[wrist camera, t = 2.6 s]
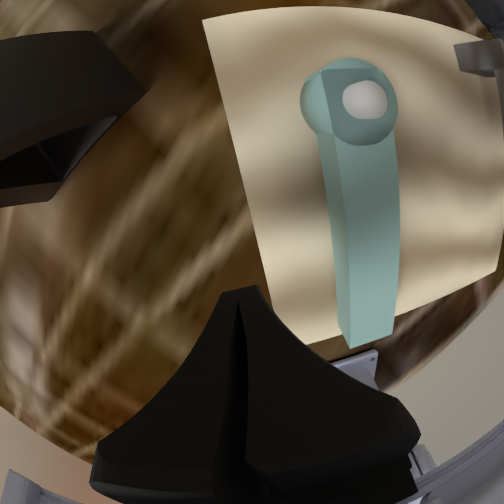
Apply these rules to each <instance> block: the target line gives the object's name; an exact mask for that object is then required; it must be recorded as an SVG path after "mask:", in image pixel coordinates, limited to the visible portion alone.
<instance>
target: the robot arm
mask: <svg viewBox="0 0 504 504" xmlns="http://www.w3.org/2000/svg"><path fill="white" fill-rule="evenodd" d="M377 358H378V352H377V350H375V349H373V350H370V351H367V352H364V353H361V354H358V355H355V356H352V357H349V358H346V359H343V360H340V361H337V362H333V363H329V362H327V361H326V360H324V359H323V358H322V357H320V356H319V355H318V354H317V353H315V352H314V351H313V350H311V349H310V348H309V347H308V346H307V345H305V344H304V343H303V342H302V341H301V340H300V339H299V338H298V337H297V336H296V335H294V334H293V333H292V332H291V330H290V329H289V328H288V327H287V326H286V325H285V324H284V323H283V322H282V321H281V320H280V318H279V317H278V316H277V315H276V314H275V312H274V311H273V310H272V308H271V307H270V306H269V304H268V303H267V301H266V300H265V298H264V296H263V294H262V292H261V290H260V287H259V286H257V285H253V286H248V287H244V288H240V289H236V290H231V291H227V292H223V293H222V294H221V295H220V297H219V299H218V301H217V304H216V306H215V308H214V310H213V312H212V314H211V316H210V318H209V320H208V322H207V324H206V326H205V328H204V330H203V332H202V333H201V335H200V337H199V339H198V340H197V342H196V343H195V345H194V347H193V348H192V350H191V352H190V353H189V355H188V356H187V358H186V359H185V361H184V362H183V363H182V365H181V366H180V368H179V369H178V370H177V372H176V373H175V374H174V375H173V377H172V378H171V379H170V380H169V381H168V382H167V383H166V385H165V386H164V387H163V388H162V389H161V390H160V391H159V392H158V393H157V394H156V395H155V397H154V398H153V399H152V400H151V401H150V402H149V403H147V404H146V405H145V406H144V407H143V408H142V409H141V410H140V411H139V412H138V413H136V414H135V415H134V416H133V417H132V418H131V419H129V420H128V421H127V422H126V423H124V424H123V425H122V426H120V427H119V428H118V429H116V430H115V431H114V432H112V433H111V434H109V435H108V436H107V437H105V438H104V439H102V440H101V441H99V442H98V444H97V448H96V452H95V457H94V461H93V466H92V470H91V475H90V481H89V484H90V486H91V487H92V488H93V489H94V490H95V491H97V492H99V493H101V494H102V495H104V496H107V497H109V498H111V499H113V500H116V501H118V502H120V503H123V504H504V420H503V421H502V422H500V423H499V424H498V425H497V426H496V427H494V428H493V429H492V430H491V431H489V432H488V433H487V434H486V435H484V436H483V437H482V438H481V439H479V440H478V441H476V442H475V443H473V444H472V445H471V446H469V447H468V448H466V449H465V450H464V451H462V452H461V453H459V454H457V455H456V456H454V457H453V458H451V459H450V460H448V461H447V462H445V463H443V464H442V465H440V466H438V467H436V465H435V463H434V460H433V459H432V456H431V455H430V453H429V451H428V450H427V448H426V447H425V446H424V445H422V444H417V442H418V440H419V438H420V436H421V433H420V431H419V428H418V426H417V423H416V422H415V420H414V419H413V417H412V416H411V415H410V413H409V412H408V410H407V409H406V408H405V407H404V405H403V404H402V403H401V402H400V401H399V400H398V399H397V398H395V397H393V396H391V395H388V394H386V393H383V392H381V391H379V389H378V387H377V385H376V383H375V381H374V377H375V371H376V365H377ZM410 452H411V453H410ZM0 504H82V503H79V502H76V501H73V500H70V499H68V498H65V497H63V496H60V495H57V494H55V493H53V492H50V491H48V490H46V489H44V488H42V487H40V486H39V485H37V484H36V483H34V482H33V481H31V480H29V479H27V478H26V477H24V476H22V475H20V474H18V473H16V472H15V471H13V470H11V469H9V470H8V474H7V477H6V481H5V485H4V489H3V494H2V499H1V503H0Z"/></svg>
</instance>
